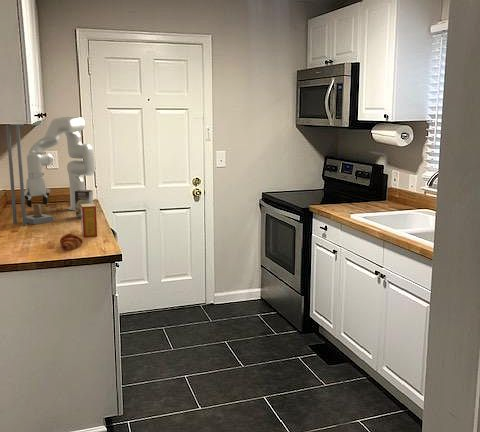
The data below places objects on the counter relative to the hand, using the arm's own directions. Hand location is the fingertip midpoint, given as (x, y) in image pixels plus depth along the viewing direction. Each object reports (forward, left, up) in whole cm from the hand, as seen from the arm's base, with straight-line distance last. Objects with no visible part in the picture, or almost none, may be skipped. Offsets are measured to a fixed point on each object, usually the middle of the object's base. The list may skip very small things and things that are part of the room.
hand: (37, 205), depth 302 cm
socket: (0, 0, -9) cm, 9 cm away
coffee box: (-26, +8, -10) cm, 29 cm away
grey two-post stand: (+5, 0, -9) cm, 11 cm away
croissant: (+23, +65, -10) cm, 70 cm away
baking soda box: (+3, +52, -10) cm, 53 cm away
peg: (0, 0, -9) cm, 9 cm away
